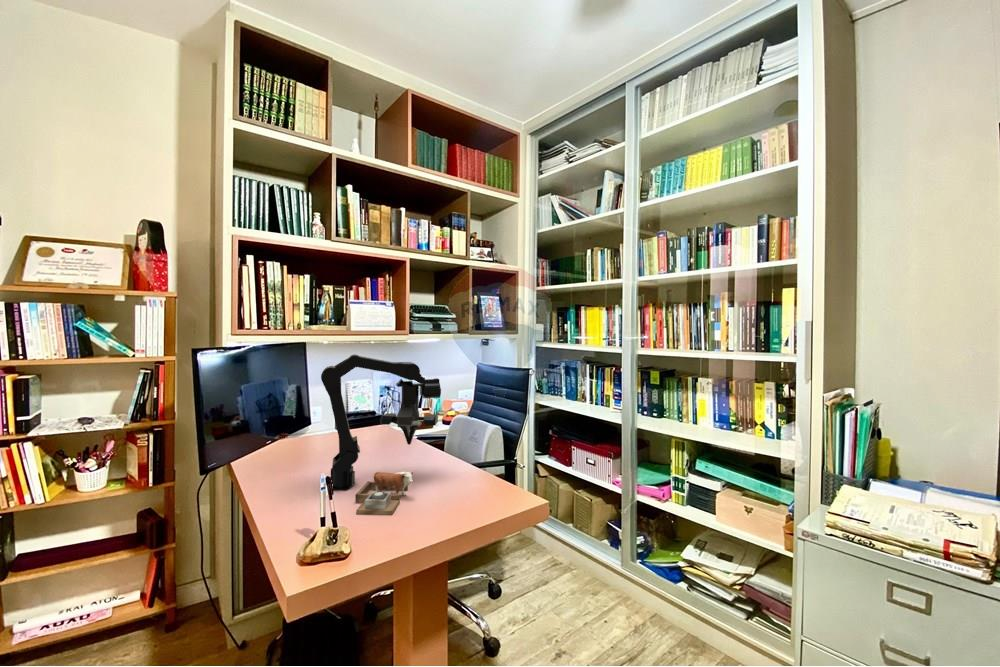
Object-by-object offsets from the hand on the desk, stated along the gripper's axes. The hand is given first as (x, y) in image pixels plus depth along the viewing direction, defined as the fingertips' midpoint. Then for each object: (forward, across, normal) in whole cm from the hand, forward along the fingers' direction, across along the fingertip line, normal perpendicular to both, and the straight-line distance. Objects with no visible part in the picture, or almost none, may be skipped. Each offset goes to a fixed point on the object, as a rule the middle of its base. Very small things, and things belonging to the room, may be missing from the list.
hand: (409, 444), depth 141 cm
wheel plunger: (+11, -3, -24) cm, 26 cm away
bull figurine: (+12, -1, -15) cm, 19 cm away
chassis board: (+12, -5, -19) cm, 23 cm away
